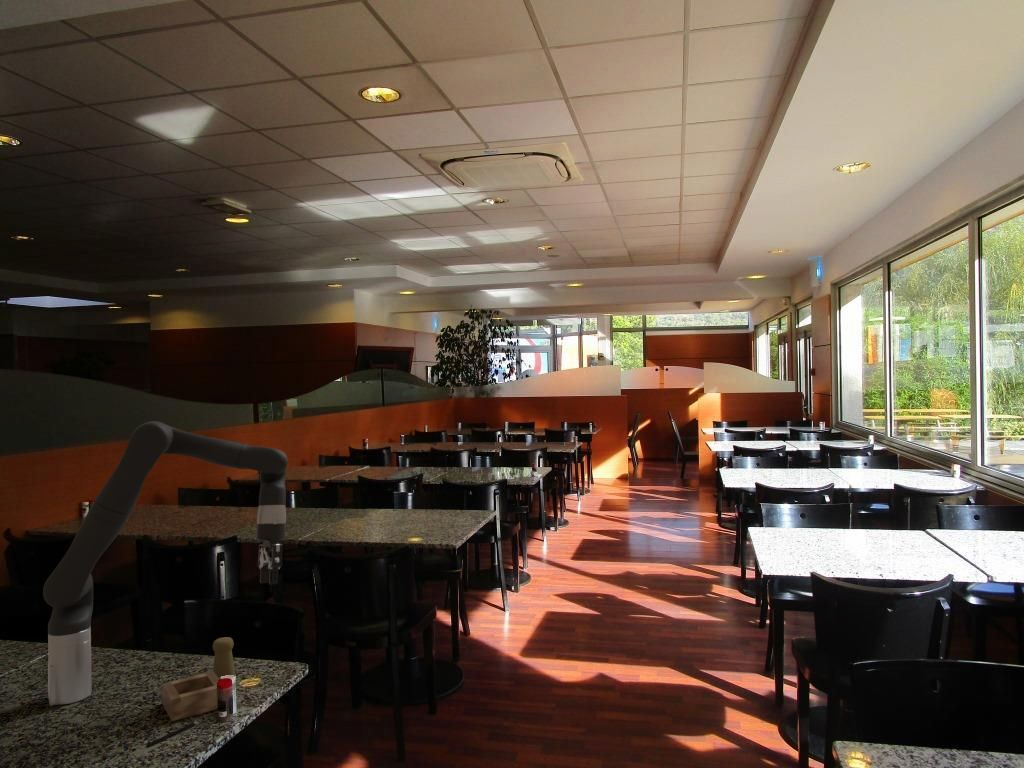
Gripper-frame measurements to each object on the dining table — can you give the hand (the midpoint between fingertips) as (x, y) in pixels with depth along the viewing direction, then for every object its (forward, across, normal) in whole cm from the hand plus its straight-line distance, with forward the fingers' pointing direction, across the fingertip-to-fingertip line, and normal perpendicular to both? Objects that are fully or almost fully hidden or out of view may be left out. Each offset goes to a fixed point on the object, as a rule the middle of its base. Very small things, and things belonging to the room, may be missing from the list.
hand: (268, 583), depth 187 cm
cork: (+25, -12, -7) cm, 29 cm away
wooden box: (+28, 0, -17) cm, 33 cm away
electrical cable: (+32, +14, -24) cm, 42 cm away
